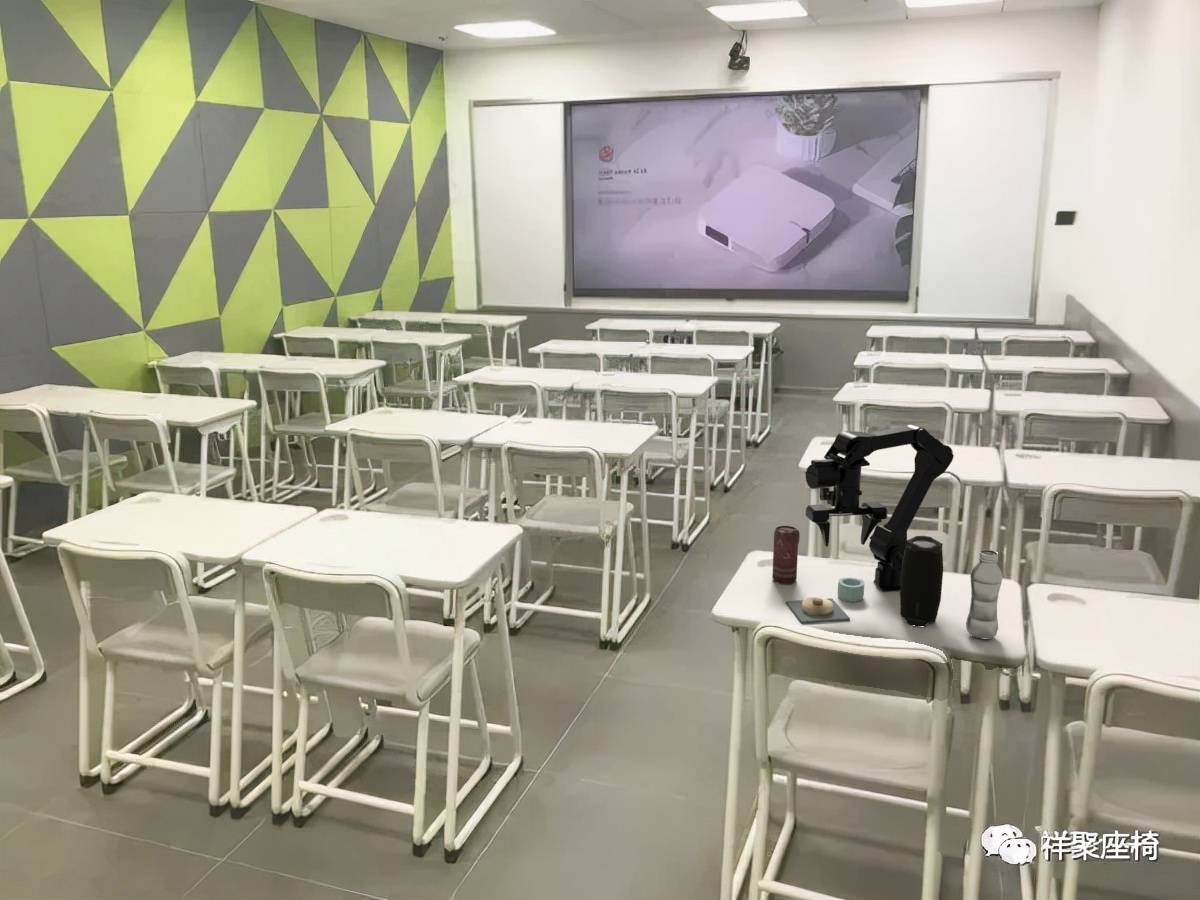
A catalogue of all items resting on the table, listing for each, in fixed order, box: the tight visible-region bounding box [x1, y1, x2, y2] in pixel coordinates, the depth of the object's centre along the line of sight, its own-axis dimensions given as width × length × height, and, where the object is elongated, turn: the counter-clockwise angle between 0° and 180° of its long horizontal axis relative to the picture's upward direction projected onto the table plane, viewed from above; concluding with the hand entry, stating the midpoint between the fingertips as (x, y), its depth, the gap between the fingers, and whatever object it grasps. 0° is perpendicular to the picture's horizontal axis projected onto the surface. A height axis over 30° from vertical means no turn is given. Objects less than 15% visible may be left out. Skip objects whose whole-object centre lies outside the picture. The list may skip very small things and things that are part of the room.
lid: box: [802, 596, 833, 616], centre depth 224 cm, size 7×7×2 cm
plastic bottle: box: [965, 549, 1004, 639], centre depth 209 cm, size 6×7×20 cm
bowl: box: [837, 577, 865, 603], centre depth 232 cm, size 6×6×4 cm
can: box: [771, 525, 801, 585], centre depth 242 cm, size 6×6×14 cm
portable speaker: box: [899, 535, 944, 627], centre depth 217 cm, size 9×9×20 cm
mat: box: [785, 597, 851, 625], centre depth 225 cm, size 12×12×1 cm
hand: (844, 545), depth 231 cm, fingers open, 9 cm apart
